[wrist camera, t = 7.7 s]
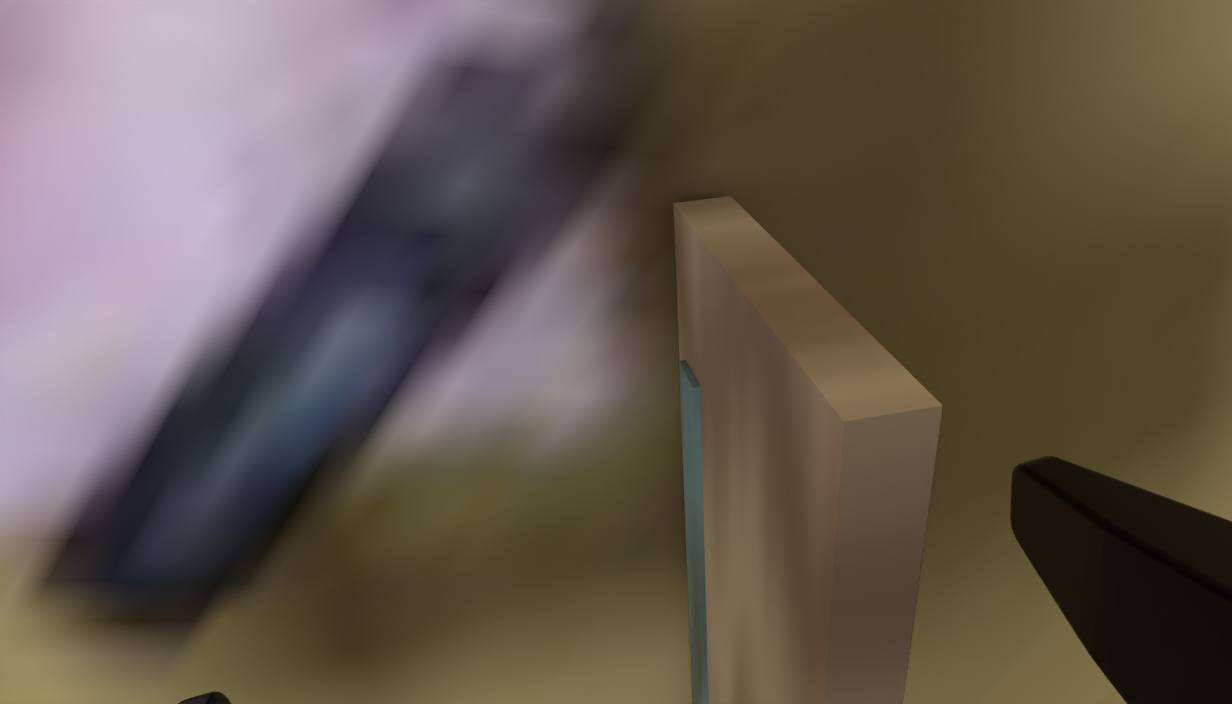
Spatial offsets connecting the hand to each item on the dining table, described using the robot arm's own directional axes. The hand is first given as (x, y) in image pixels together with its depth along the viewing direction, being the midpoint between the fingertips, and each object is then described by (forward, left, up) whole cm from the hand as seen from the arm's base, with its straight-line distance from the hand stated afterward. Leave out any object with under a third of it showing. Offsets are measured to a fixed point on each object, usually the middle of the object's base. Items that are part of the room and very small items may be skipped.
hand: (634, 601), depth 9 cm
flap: (0, -5, -4) cm, 7 cm away
